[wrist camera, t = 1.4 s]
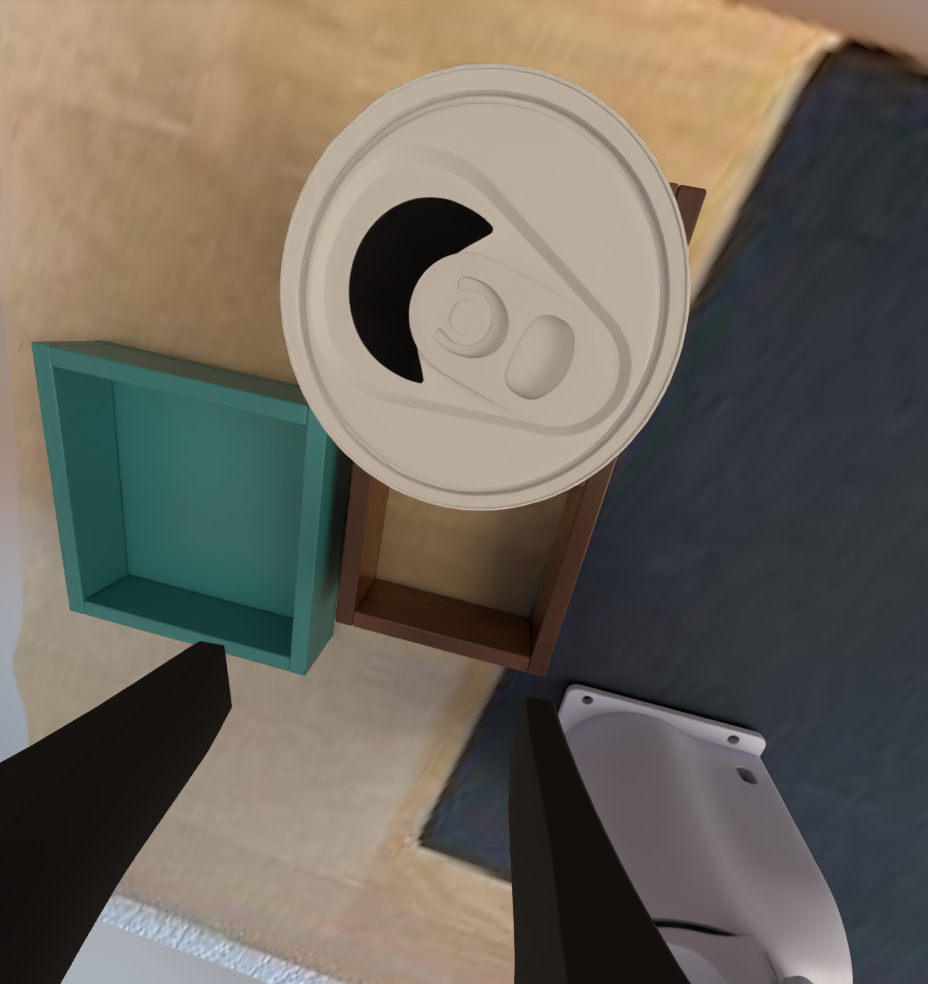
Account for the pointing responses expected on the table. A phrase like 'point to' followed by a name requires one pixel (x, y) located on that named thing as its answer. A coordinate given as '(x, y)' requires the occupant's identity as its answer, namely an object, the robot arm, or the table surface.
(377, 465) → the beverage can
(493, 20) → the table surface
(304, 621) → the teal square tray
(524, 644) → the brown divided tray
